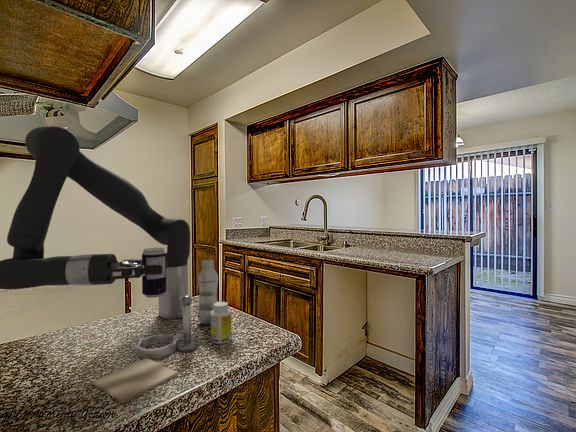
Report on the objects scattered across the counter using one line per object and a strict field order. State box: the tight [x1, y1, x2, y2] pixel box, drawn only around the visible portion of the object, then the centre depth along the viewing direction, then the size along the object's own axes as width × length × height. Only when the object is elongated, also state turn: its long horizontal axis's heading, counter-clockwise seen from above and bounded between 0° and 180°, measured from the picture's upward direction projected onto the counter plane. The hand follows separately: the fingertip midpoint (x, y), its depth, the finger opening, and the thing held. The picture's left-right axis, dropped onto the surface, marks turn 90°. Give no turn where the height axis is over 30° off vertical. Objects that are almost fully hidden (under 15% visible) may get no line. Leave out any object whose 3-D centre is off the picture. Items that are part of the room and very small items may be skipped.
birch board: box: [92, 358, 178, 405], centre depth 67 cm, size 12×12×1 cm
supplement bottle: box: [210, 301, 232, 345], centre depth 86 cm, size 6×6×10 cm
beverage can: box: [141, 247, 167, 299], centre depth 80 cm, size 6×6×12 cm
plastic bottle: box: [197, 259, 219, 325], centre depth 99 cm, size 6×7×20 cm
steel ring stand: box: [135, 295, 200, 359], centre depth 81 cm, size 13×13×14 cm
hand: (164, 267), depth 80 cm, fingers closed on beverage can, 5 cm apart
